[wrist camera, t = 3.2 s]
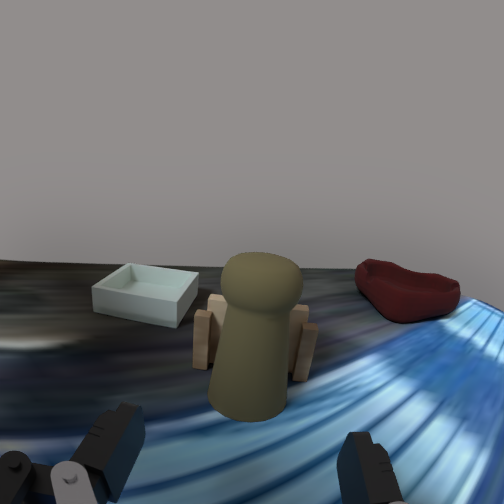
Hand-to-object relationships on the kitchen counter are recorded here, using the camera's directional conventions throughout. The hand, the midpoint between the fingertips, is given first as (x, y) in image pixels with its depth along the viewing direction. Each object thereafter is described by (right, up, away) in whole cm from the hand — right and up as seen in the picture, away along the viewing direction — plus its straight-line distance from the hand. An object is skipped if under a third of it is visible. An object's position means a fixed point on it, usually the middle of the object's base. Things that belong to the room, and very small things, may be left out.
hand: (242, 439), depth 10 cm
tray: (-12, +1, +26) cm, 29 cm away
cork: (0, -4, +12) cm, 13 cm away
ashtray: (+23, -2, +33) cm, 40 cm away
